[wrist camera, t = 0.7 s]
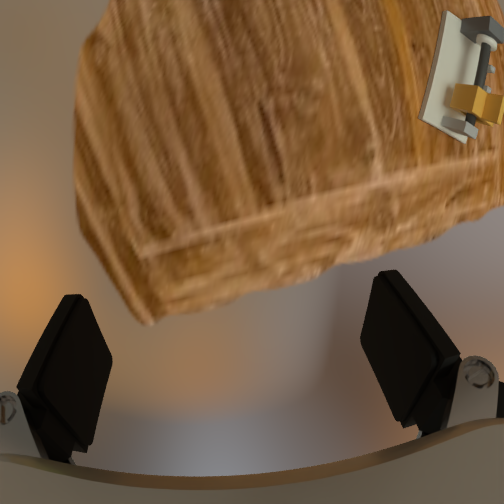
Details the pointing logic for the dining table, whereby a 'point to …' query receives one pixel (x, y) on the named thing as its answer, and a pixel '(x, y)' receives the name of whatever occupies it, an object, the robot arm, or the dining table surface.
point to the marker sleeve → (478, 104)
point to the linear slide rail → (459, 70)
